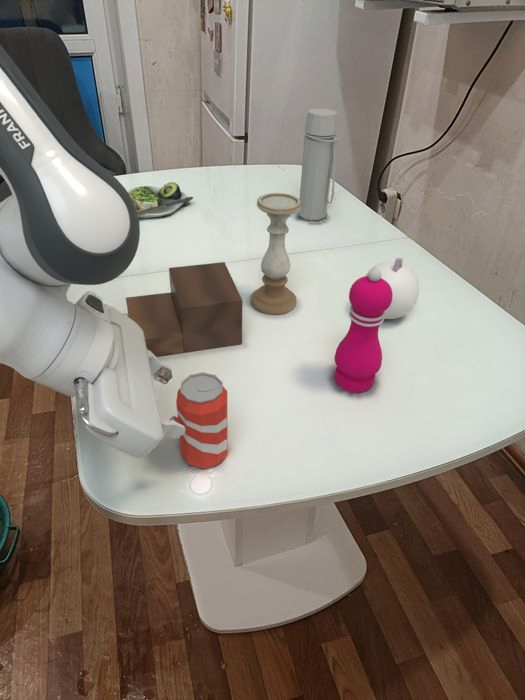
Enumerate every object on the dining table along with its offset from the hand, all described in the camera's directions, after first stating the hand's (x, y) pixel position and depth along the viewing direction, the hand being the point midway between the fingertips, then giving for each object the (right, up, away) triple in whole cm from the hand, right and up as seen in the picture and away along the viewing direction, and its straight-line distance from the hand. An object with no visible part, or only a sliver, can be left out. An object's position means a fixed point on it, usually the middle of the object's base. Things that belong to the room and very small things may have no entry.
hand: (174, 402), depth 62 cm
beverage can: (+3, -8, +6) cm, 10 cm away
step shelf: (-3, +10, +28) cm, 30 cm away
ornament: (+34, +13, +35) cm, 50 cm away
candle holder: (+13, +15, +36) cm, 41 cm away
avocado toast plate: (-17, +44, +70) cm, 85 cm away
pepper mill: (+25, +1, +19) cm, 32 cm away
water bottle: (+24, +40, +68) cm, 82 cm away
